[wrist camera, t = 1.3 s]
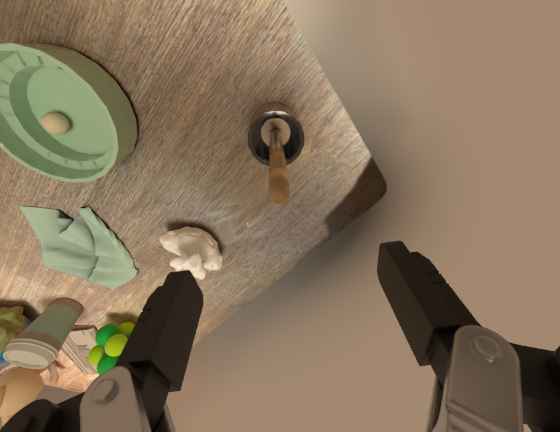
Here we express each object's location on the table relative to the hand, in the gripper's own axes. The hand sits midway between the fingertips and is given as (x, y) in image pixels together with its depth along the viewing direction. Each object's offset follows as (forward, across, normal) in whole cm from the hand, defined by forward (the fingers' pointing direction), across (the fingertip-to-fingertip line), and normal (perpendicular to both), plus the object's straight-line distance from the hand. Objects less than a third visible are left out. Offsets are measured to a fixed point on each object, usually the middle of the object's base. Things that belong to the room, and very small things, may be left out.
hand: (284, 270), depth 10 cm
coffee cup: (+29, +54, +33) cm, 70 cm away
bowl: (+29, +26, -5) cm, 39 cm away
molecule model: (+29, +44, +42) cm, 68 cm away
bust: (+29, +18, +19) cm, 39 cm away
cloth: (+29, +40, +17) cm, 53 cm away
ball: (+27, +28, -5) cm, 39 cm away
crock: (+29, 0, +1) cm, 29 cm away
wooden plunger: (+28, 0, +1) cm, 28 cm away
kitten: (+29, +76, +52) cm, 97 cm away
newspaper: (+29, +62, +51) cm, 85 cm away
